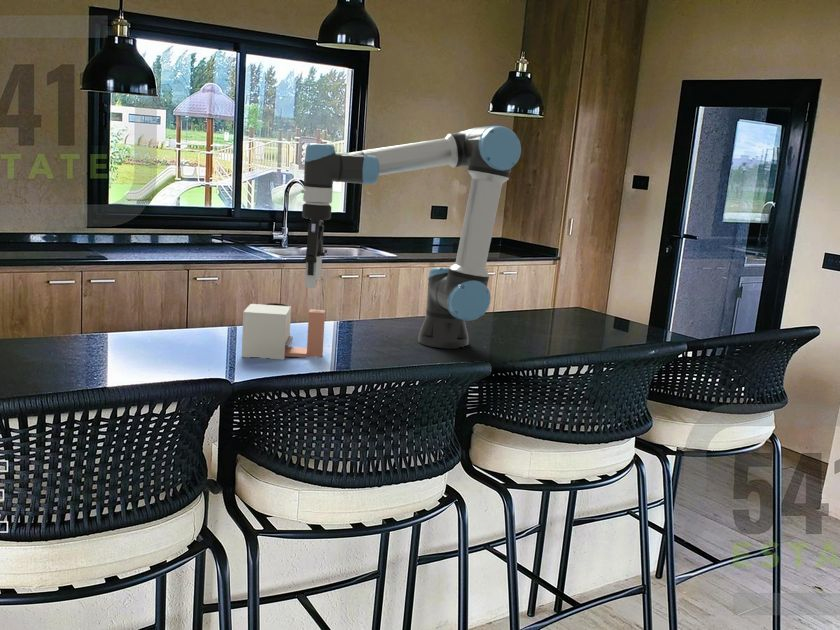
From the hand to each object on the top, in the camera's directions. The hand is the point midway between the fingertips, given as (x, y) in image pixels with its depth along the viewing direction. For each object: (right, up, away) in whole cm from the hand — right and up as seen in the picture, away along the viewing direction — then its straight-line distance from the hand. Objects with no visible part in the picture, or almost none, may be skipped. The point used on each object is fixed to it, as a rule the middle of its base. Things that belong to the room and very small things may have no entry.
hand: (313, 283), depth 225 cm
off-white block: (-13, -18, +1) cm, 23 cm away
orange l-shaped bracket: (-7, -19, +2) cm, 20 cm away
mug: (-13, -15, +19) cm, 28 cm away
